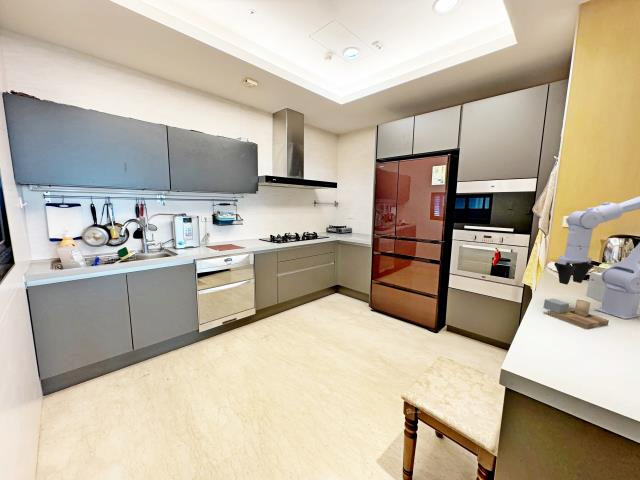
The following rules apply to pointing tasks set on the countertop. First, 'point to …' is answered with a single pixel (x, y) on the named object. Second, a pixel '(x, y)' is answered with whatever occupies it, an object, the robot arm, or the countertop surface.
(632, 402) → the countertop surface
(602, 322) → the board
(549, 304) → the grey block
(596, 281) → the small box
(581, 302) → the peg
